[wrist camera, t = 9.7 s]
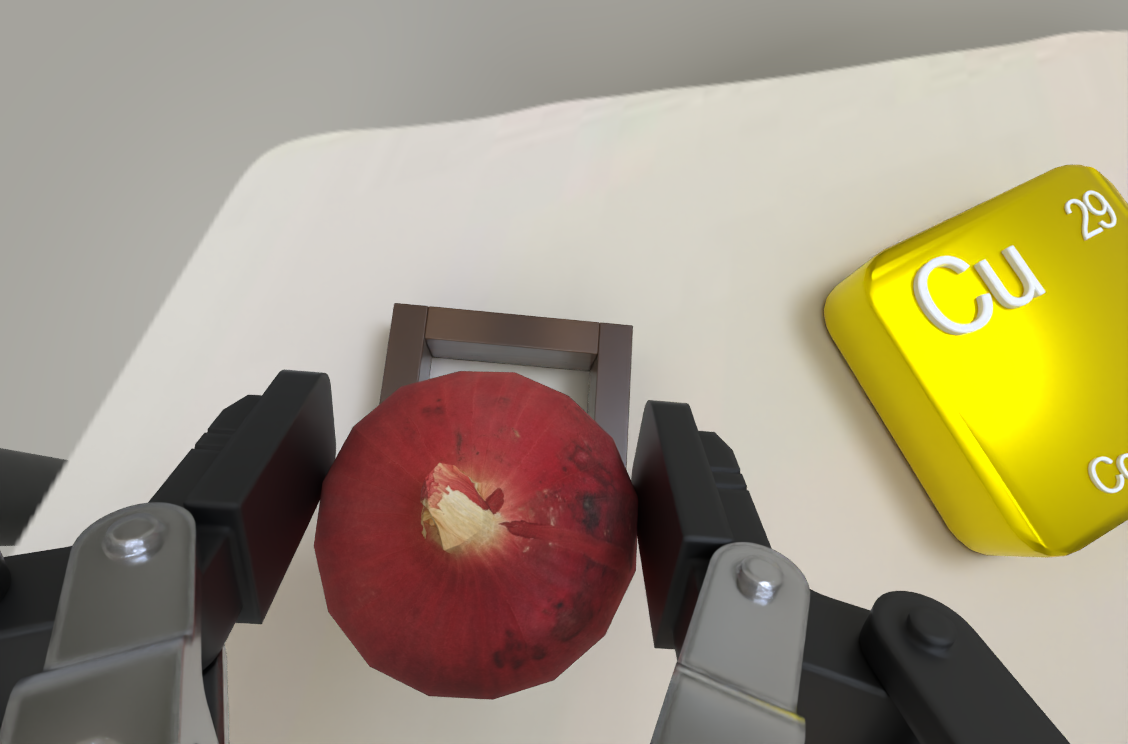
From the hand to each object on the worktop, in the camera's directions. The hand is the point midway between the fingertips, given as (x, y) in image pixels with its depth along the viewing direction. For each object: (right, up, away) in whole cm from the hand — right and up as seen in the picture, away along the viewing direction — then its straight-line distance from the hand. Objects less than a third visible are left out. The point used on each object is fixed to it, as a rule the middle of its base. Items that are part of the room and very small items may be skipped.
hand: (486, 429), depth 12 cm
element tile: (+24, +1, +21) cm, 32 cm away
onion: (0, -3, +4) cm, 5 cm away
